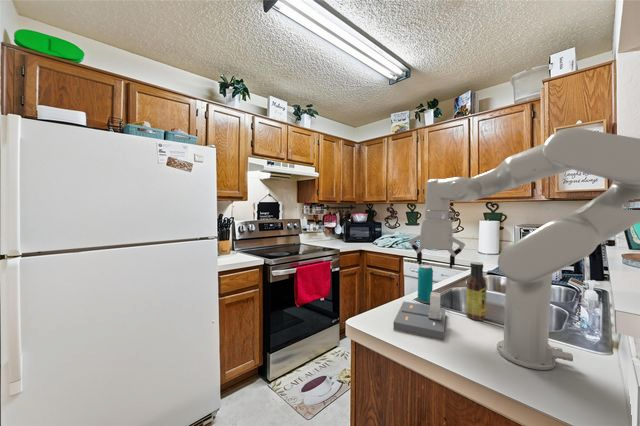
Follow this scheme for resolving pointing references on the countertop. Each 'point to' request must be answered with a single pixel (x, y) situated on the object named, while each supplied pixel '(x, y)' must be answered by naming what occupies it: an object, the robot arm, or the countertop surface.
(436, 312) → the slide lever
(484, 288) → the sauce bottle
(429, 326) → the panel
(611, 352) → the countertop surface
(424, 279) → the beverage can
